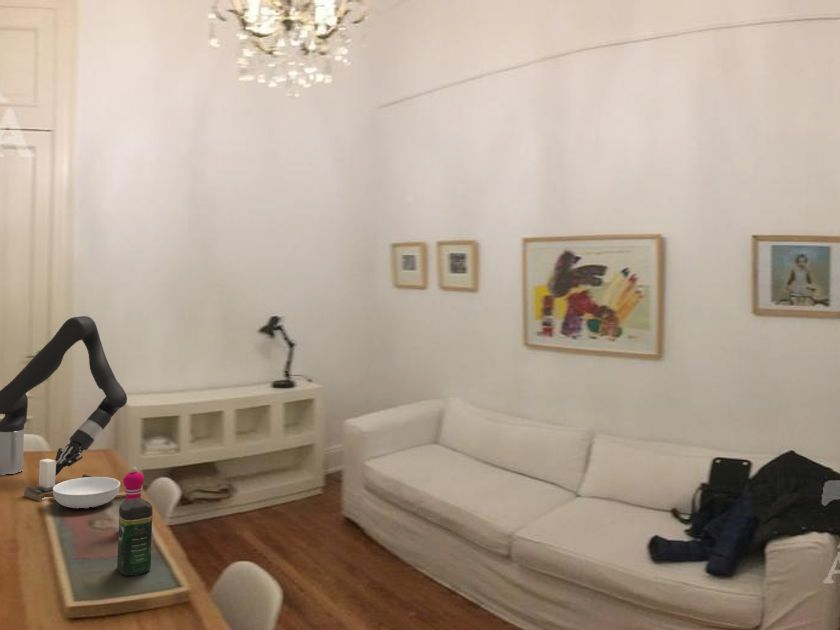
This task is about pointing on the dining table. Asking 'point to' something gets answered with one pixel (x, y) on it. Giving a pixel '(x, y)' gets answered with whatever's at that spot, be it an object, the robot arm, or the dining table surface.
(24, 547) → the dining table surface
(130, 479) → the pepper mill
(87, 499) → the serving bowl
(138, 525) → the green labelled bottle
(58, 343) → the robot arm
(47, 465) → the block
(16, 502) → the dining table surface
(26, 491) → the brown flat rectangular board
